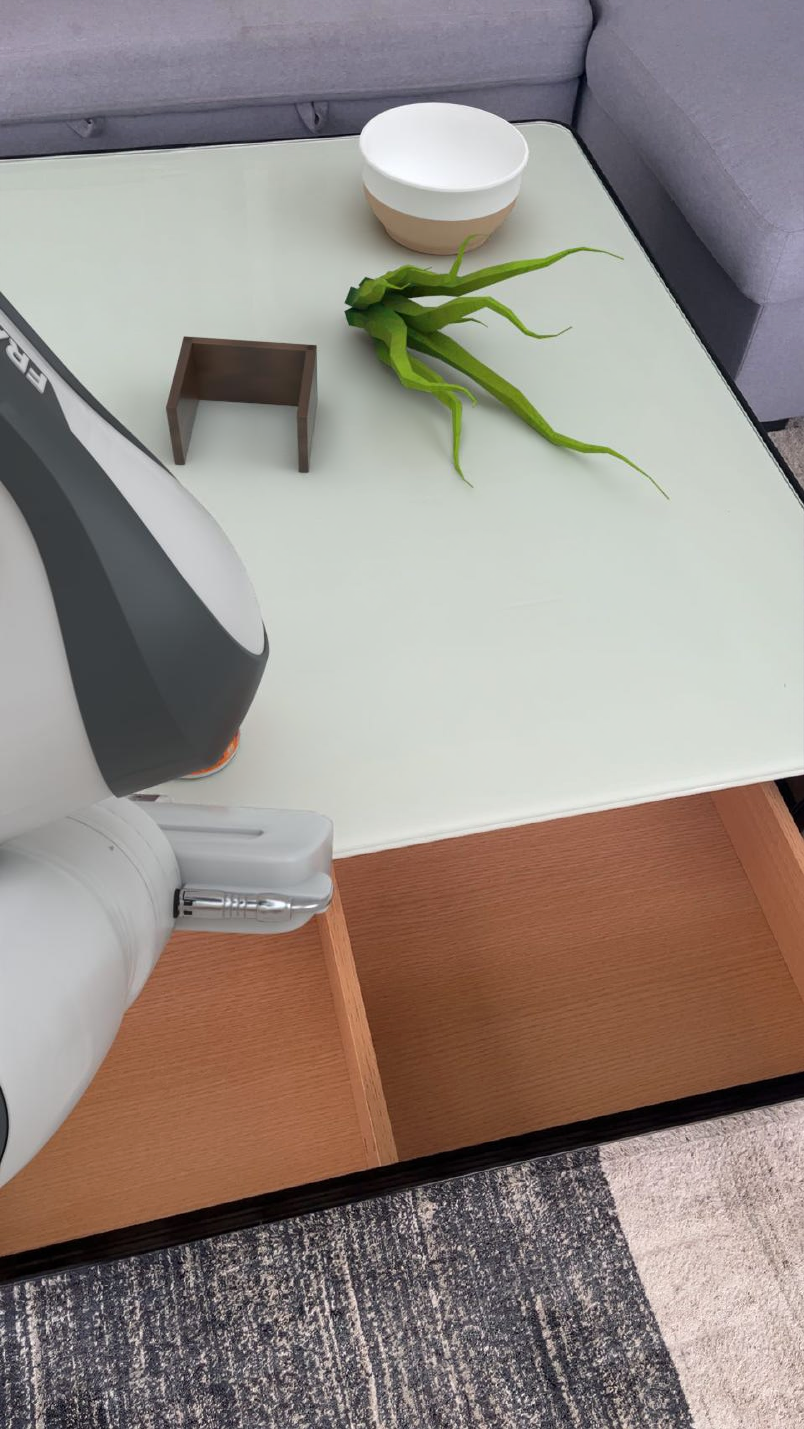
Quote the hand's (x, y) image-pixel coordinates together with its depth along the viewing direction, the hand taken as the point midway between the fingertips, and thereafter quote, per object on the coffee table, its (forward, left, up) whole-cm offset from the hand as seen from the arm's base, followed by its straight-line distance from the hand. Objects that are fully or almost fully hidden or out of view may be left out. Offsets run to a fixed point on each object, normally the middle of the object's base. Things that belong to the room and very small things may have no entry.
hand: (143, 808), depth 54 cm
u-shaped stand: (0, +42, -10) cm, 43 cm away
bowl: (+15, +74, -10) cm, 76 cm away
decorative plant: (+20, +46, -10) cm, 51 cm away
